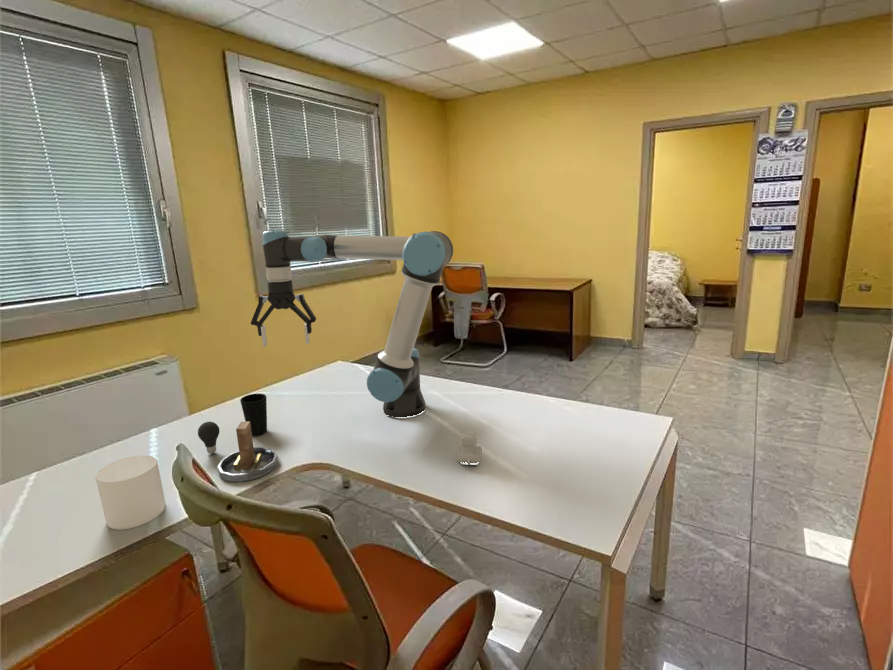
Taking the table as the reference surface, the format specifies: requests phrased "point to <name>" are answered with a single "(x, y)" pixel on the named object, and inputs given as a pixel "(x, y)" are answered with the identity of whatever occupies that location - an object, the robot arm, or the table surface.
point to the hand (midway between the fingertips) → (286, 344)
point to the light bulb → (209, 435)
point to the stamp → (469, 449)
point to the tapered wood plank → (245, 445)
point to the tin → (234, 472)
